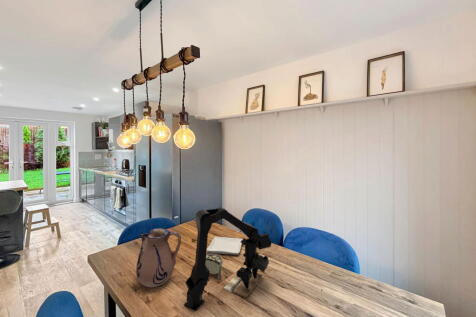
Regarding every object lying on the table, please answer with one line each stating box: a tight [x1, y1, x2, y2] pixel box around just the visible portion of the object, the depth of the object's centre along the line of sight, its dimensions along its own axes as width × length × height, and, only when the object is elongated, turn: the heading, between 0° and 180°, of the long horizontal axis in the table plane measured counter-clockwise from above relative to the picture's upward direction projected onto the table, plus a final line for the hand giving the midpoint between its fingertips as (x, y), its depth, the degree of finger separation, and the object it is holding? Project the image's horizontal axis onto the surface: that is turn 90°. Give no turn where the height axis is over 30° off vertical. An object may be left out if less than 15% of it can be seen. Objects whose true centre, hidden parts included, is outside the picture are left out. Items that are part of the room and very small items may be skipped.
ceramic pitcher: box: [135, 227, 182, 288], centre depth 108 cm, size 18×21×25 cm
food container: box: [205, 253, 224, 281], centre depth 114 cm, size 12×6×10 cm, turn 59°
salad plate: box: [207, 236, 243, 256], centre depth 145 cm, size 21×21×3 cm
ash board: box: [223, 273, 242, 293], centre depth 109 cm, size 18×4×1 cm, turn 151°
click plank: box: [232, 272, 263, 298], centre depth 106 cm, size 18×7×1 cm, turn 151°
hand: (251, 282), depth 105 cm, fingers open, 8 cm apart
